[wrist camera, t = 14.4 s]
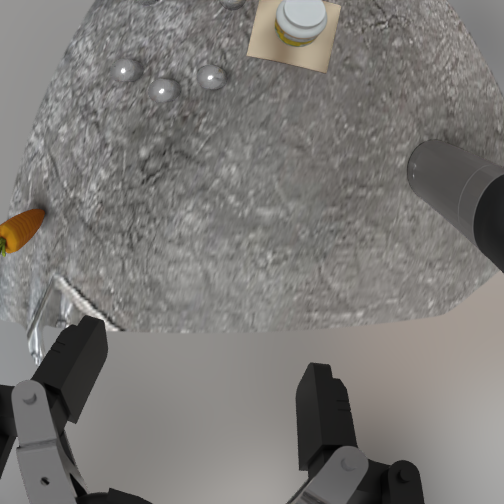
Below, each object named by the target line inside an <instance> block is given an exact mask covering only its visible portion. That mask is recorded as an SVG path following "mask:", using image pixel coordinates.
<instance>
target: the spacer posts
mask: <svg viewBox="0 0 504 504" xmlns="http://www.w3.org/2000/svg"><path fill="white" fill-rule="evenodd" d="M136 1H137V2H139V3H141V4H142V5H145V6H149V5H152V4H154V3H155V2H157V1H158V0H136ZM220 2H221V4H222V6H223V7H224V8H226V9H228V10H236V9H239V8H240V7H242V6H243V4H244V2H245V0H220ZM143 71H144V69H143V65H142V64H141V63H140V62H138V61H134V60H129V59H118V60H117V61H115V62H114V63H113V65H112V66H111V70H110V74H111V77H112V78H113V79H114V80H115V81H125V82H134V81H137V80H138V79H140V78H141V76H142V75H143ZM197 81H198V83H199V85H200V86H201V87H203V88H205V89H213V90H216V89H220V88H222V87H223V86H224V85H225V84H226V82H227V75H226V73H225V71H224V70H222V69H221V68H219V67H217V66H215V65H206V66H204V67H202V68H201V69H200V70H199V72H198V74H197ZM180 92H181V87H180V85H179V83H178V82H177V81H175V80H170V79H157V80H155V81H153V82H152V83H151V84H150V86H149V89H148V94H149V97H150V98H151V99H152V100H153V101H155V102H158V103H160V102H169V101H174V100H175V99H177V98H178V97H179V95H180Z"/></svg>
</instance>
